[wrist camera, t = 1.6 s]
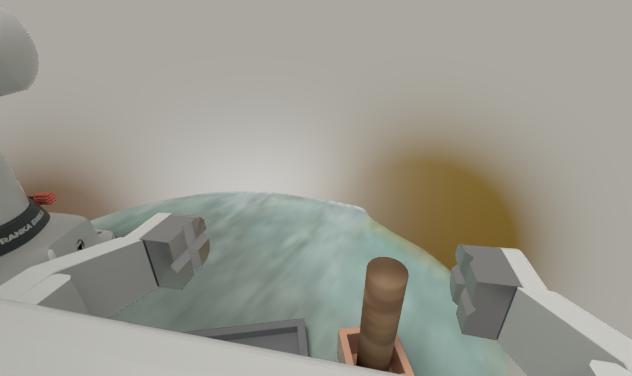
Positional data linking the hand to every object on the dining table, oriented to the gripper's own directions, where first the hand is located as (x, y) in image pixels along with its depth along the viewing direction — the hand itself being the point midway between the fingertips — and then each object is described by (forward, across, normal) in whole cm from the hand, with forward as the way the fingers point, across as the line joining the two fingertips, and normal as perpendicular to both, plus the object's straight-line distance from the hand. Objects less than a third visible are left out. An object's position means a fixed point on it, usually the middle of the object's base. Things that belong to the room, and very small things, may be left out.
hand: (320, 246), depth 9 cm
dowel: (+14, -3, +28) cm, 32 cm away
